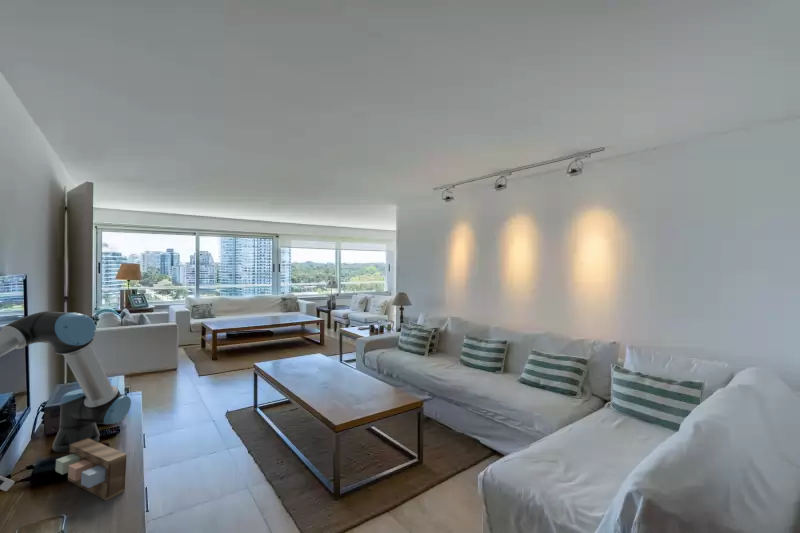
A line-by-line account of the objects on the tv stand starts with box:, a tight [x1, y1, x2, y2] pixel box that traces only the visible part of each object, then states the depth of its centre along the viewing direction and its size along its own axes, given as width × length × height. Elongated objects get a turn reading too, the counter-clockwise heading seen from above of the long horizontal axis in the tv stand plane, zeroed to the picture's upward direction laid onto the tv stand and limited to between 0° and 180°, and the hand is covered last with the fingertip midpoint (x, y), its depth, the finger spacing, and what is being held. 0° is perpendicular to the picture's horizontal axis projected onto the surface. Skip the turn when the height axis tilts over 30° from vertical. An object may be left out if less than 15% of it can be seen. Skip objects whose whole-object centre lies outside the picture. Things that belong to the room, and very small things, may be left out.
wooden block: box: [67, 438, 128, 501], centre depth 128 cm, size 24×6×13 cm, turn 66°
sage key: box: [54, 453, 80, 476], centre depth 127 cm, size 4×5×4 cm
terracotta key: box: [67, 459, 93, 481], centre depth 124 cm, size 4×5×4 cm
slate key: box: [81, 465, 106, 488], centre depth 120 cm, size 4×5×4 cm
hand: (9, 485), depth 113 cm, fingers closed
